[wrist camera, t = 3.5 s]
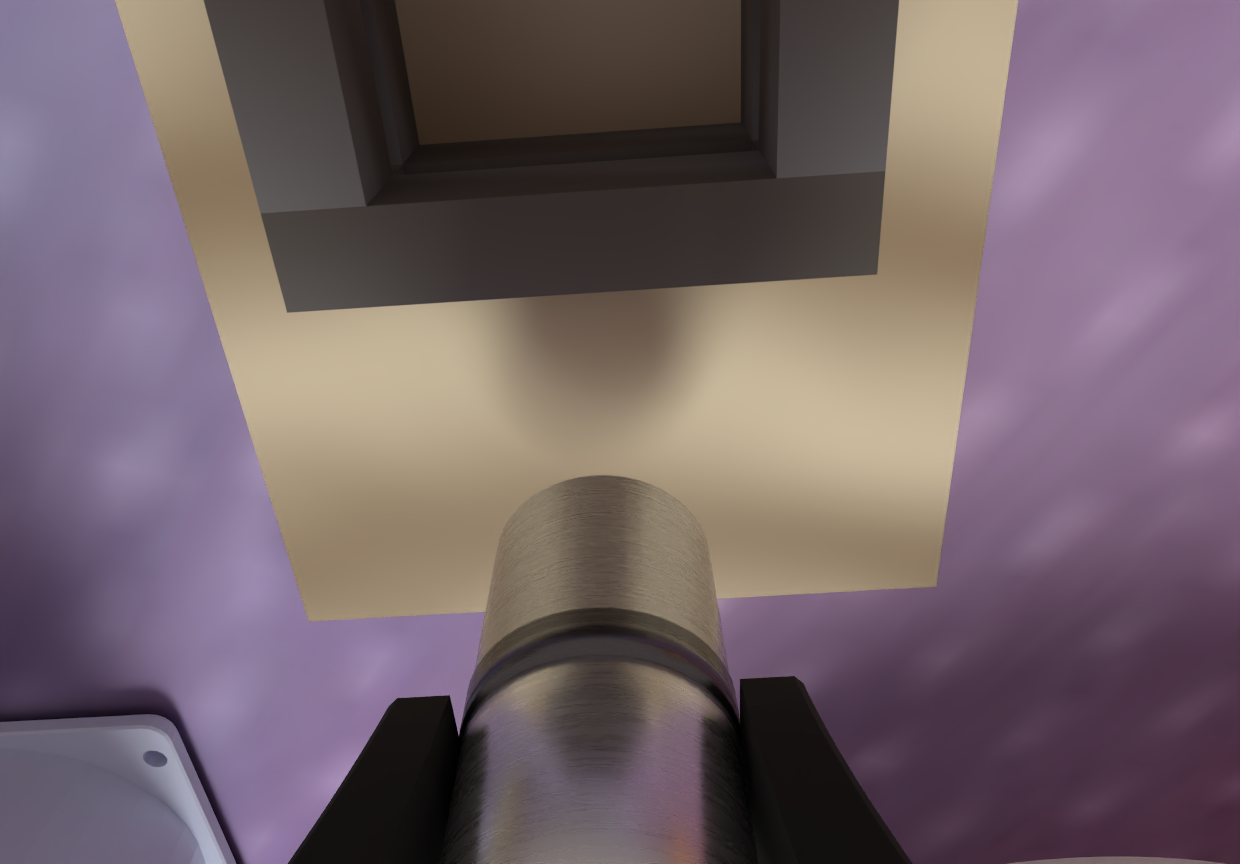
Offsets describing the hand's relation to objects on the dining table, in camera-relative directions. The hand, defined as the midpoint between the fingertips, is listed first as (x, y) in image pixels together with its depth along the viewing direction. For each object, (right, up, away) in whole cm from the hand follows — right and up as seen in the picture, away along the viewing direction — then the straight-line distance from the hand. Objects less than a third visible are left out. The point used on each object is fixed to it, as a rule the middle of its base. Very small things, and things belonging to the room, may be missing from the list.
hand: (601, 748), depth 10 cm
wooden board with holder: (0, +7, +4) cm, 8 cm away
